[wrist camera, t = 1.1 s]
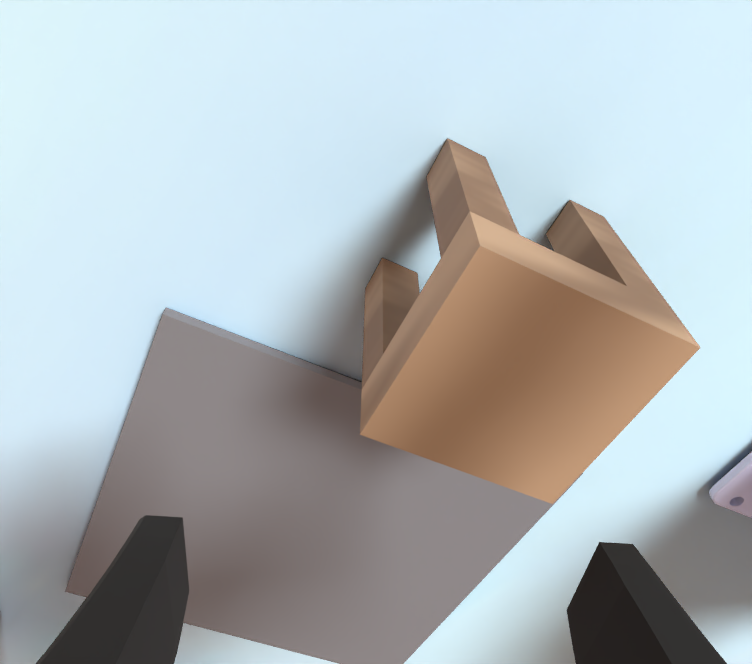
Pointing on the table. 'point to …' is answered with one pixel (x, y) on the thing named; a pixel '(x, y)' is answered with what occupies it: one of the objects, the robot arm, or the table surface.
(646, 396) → the stool
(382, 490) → the mat
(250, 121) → the table surface
